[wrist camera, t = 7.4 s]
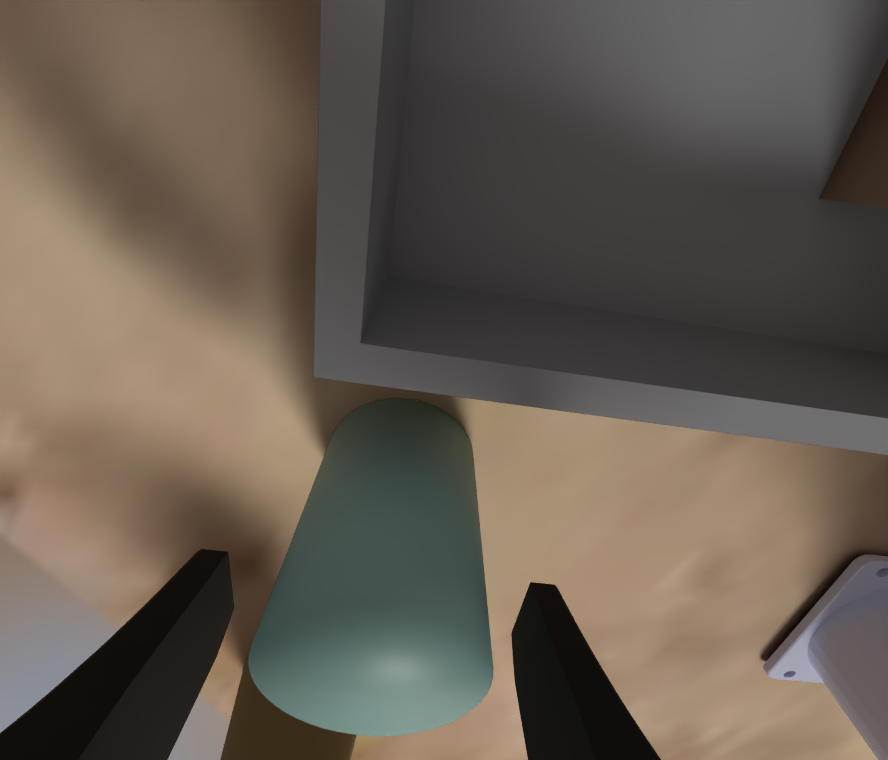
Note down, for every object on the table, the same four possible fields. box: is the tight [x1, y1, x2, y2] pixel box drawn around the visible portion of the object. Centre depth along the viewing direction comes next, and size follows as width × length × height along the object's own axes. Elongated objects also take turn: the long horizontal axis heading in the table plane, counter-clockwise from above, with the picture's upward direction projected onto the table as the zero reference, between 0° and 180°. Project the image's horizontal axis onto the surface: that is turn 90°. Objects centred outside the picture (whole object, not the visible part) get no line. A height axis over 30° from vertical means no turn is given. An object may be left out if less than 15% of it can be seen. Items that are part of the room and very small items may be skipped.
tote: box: [313, 0, 888, 455], centre depth 8 cm, size 18×14×5 cm
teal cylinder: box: [248, 398, 493, 736], centre depth 12 cm, size 5×5×7 cm
